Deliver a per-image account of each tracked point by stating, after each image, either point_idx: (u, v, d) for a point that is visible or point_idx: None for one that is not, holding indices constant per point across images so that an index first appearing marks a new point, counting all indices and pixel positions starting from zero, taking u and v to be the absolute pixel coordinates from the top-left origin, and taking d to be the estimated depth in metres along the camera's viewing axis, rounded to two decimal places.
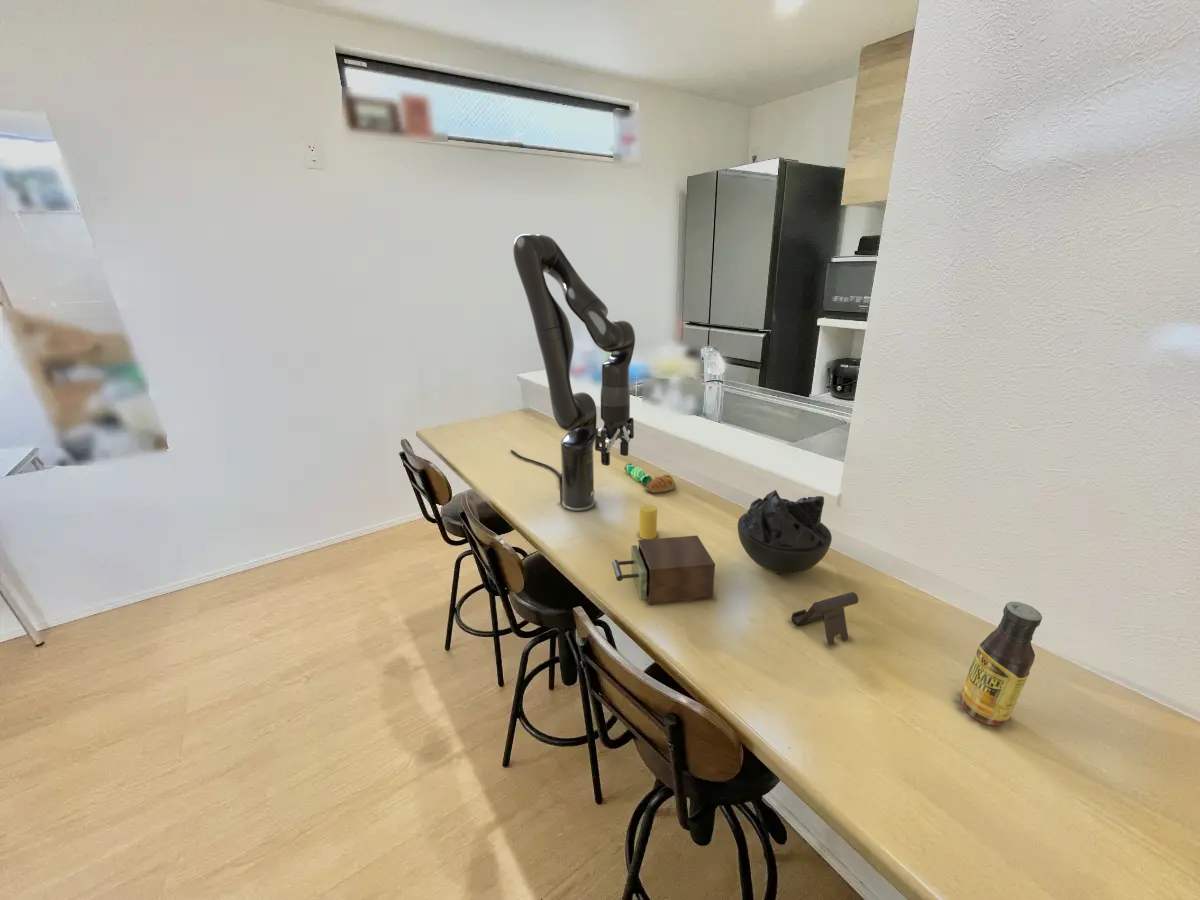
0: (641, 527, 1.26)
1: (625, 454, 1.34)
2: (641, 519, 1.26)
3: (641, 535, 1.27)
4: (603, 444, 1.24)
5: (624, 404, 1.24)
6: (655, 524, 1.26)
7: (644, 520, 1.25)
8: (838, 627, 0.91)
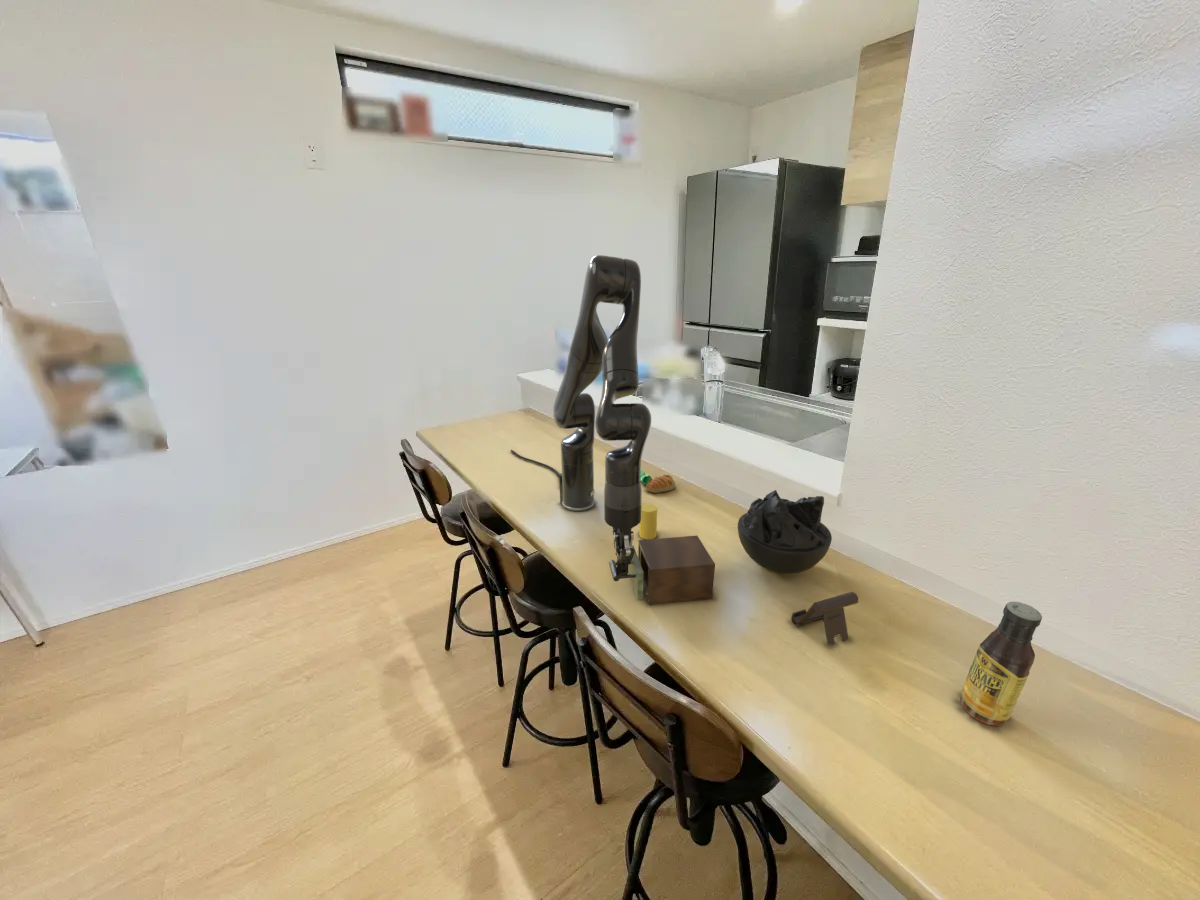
0: (641, 527, 1.26)
1: None
2: (641, 519, 1.26)
3: (641, 535, 1.27)
4: (631, 557, 1.00)
5: None
6: (655, 524, 1.26)
7: (644, 520, 1.25)
8: (838, 627, 0.91)
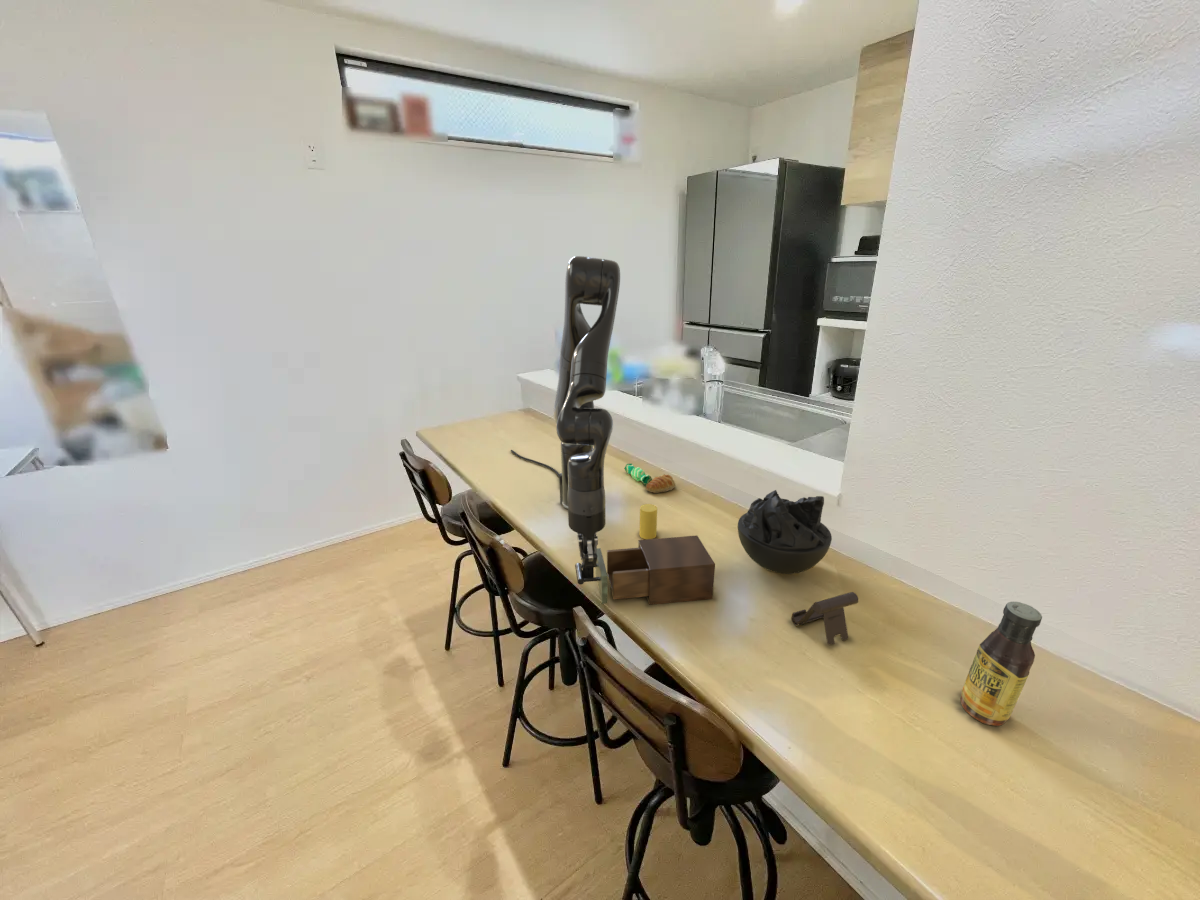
0: (641, 527, 1.26)
1: None
2: (641, 519, 1.26)
3: (641, 535, 1.27)
4: (595, 563, 0.99)
5: (604, 506, 0.98)
6: (655, 524, 1.26)
7: (644, 520, 1.25)
8: (838, 627, 0.91)
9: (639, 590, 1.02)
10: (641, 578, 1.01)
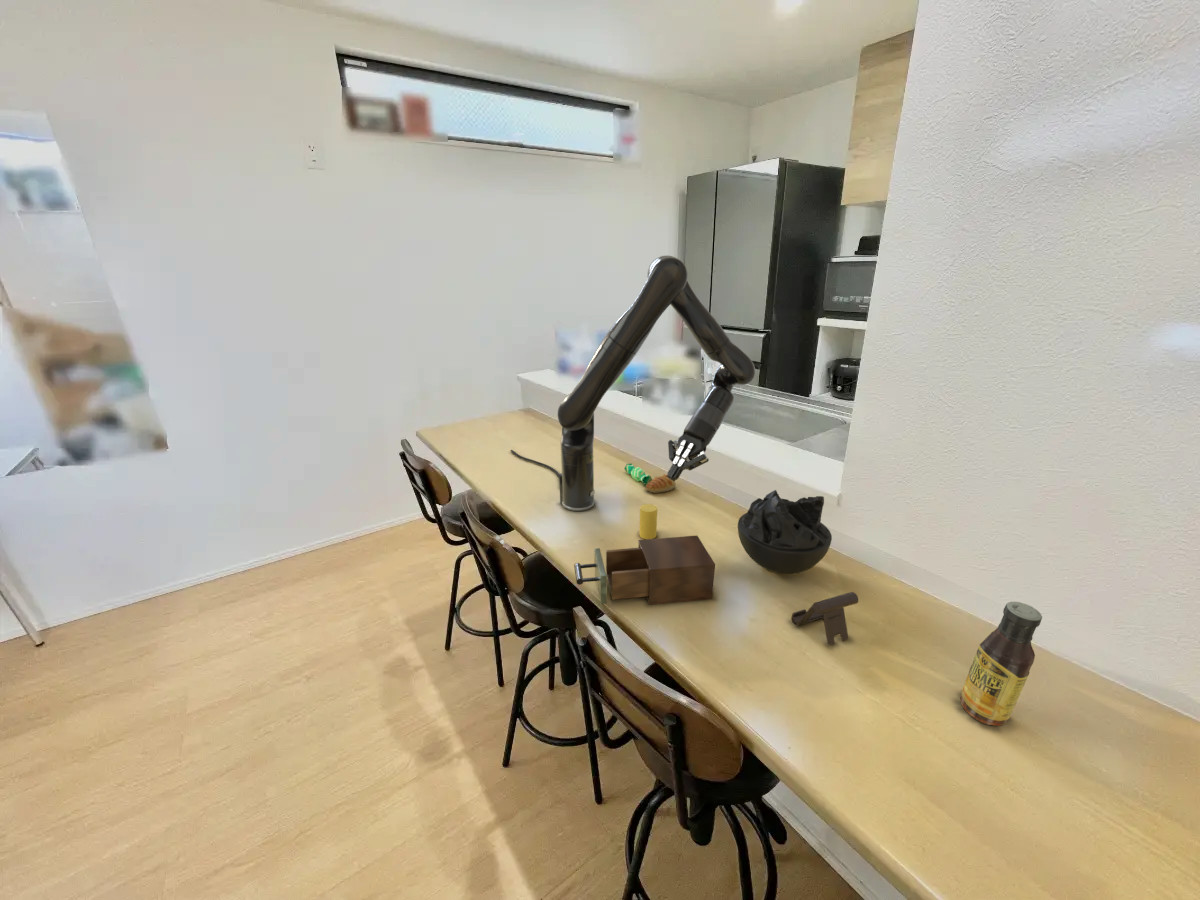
0: (641, 527, 1.26)
1: None
2: (641, 519, 1.26)
3: (641, 535, 1.27)
4: None
5: None
6: (655, 524, 1.26)
7: (644, 520, 1.25)
8: (838, 627, 0.91)
9: (638, 590, 1.02)
10: (640, 578, 1.01)
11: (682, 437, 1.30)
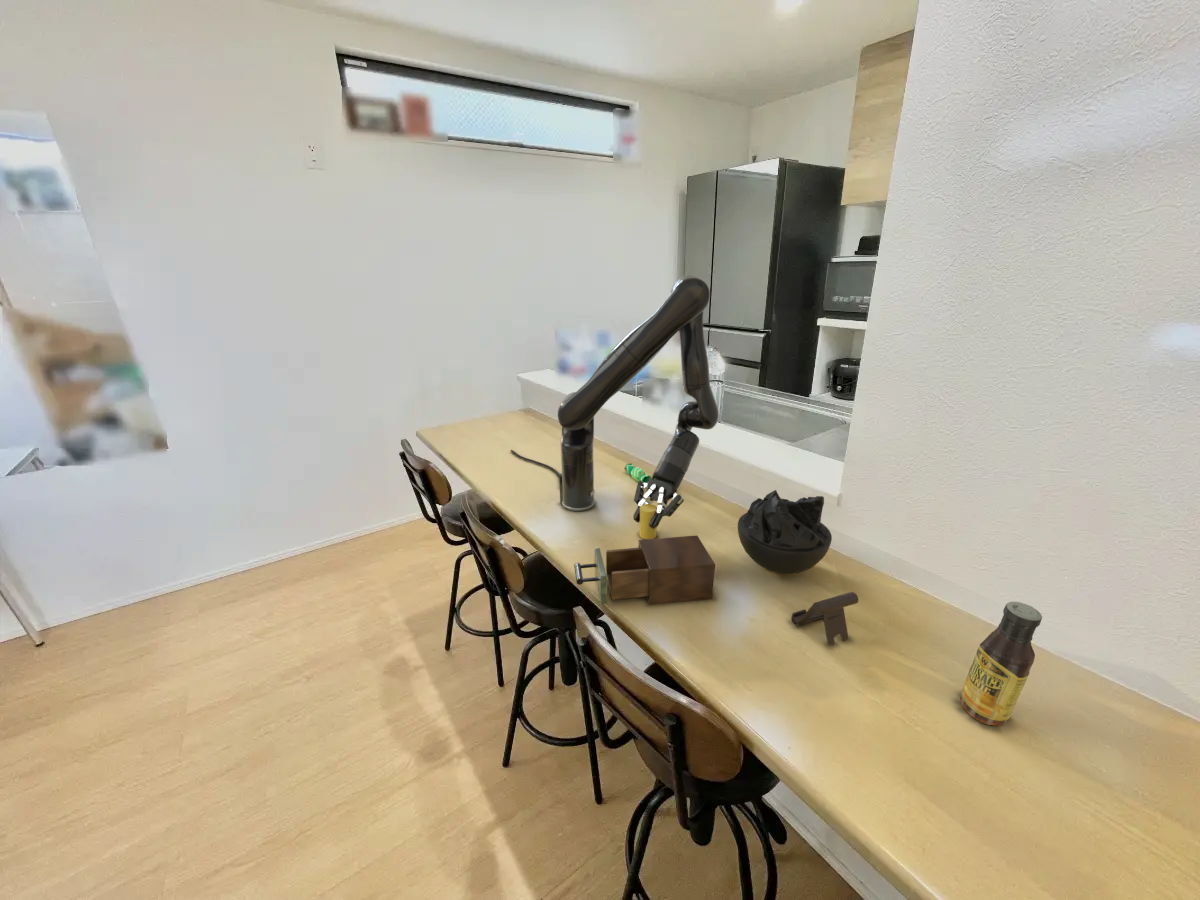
0: (641, 527, 1.26)
1: (638, 520, 1.28)
2: (641, 519, 1.26)
3: (641, 535, 1.27)
4: None
5: None
6: None
7: (644, 520, 1.25)
8: (838, 627, 0.91)
9: (638, 590, 1.02)
10: (640, 578, 1.01)
11: (652, 482, 1.29)
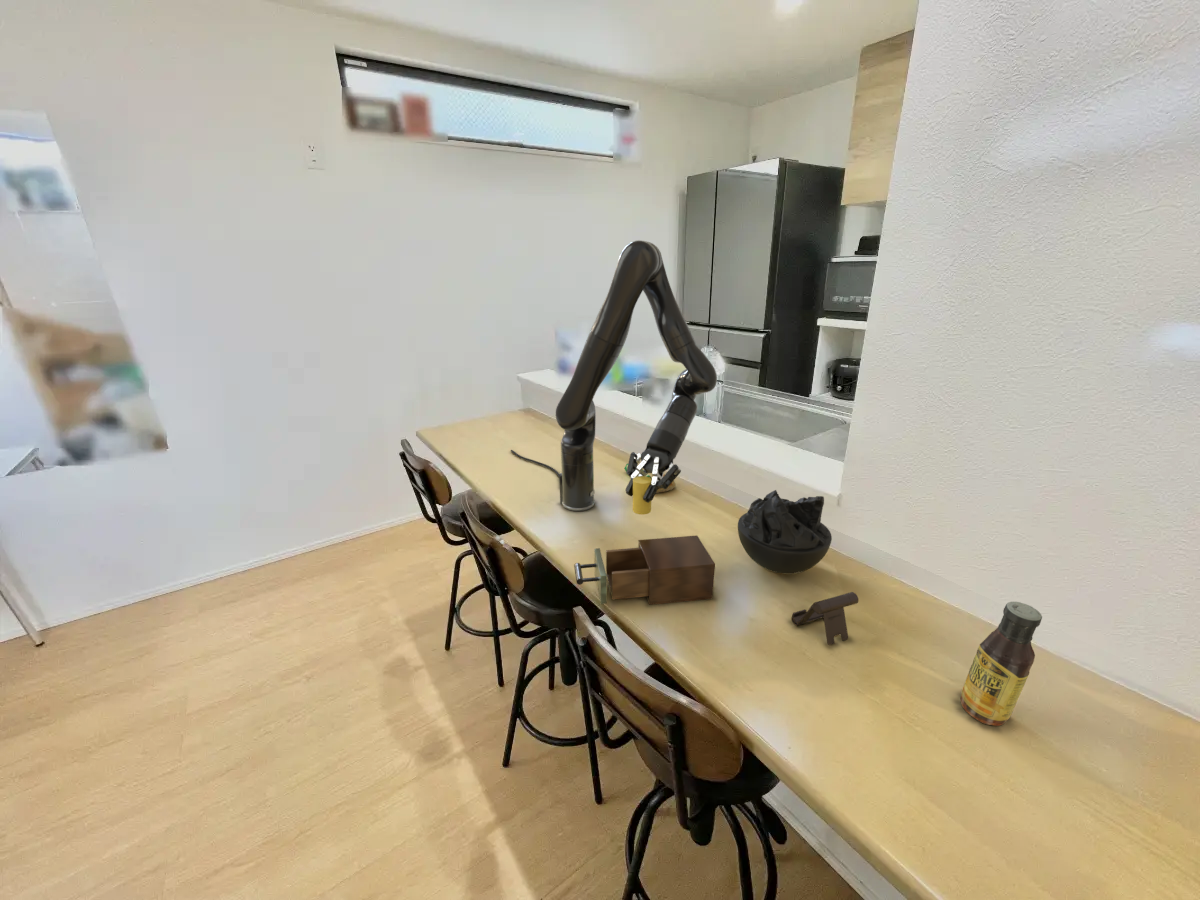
0: (634, 501, 1.15)
1: (631, 494, 1.16)
2: (634, 492, 1.14)
3: (634, 510, 1.16)
4: None
5: None
6: None
7: (637, 493, 1.14)
8: (838, 627, 0.91)
9: (638, 590, 1.02)
10: (640, 578, 1.01)
11: (646, 452, 1.18)
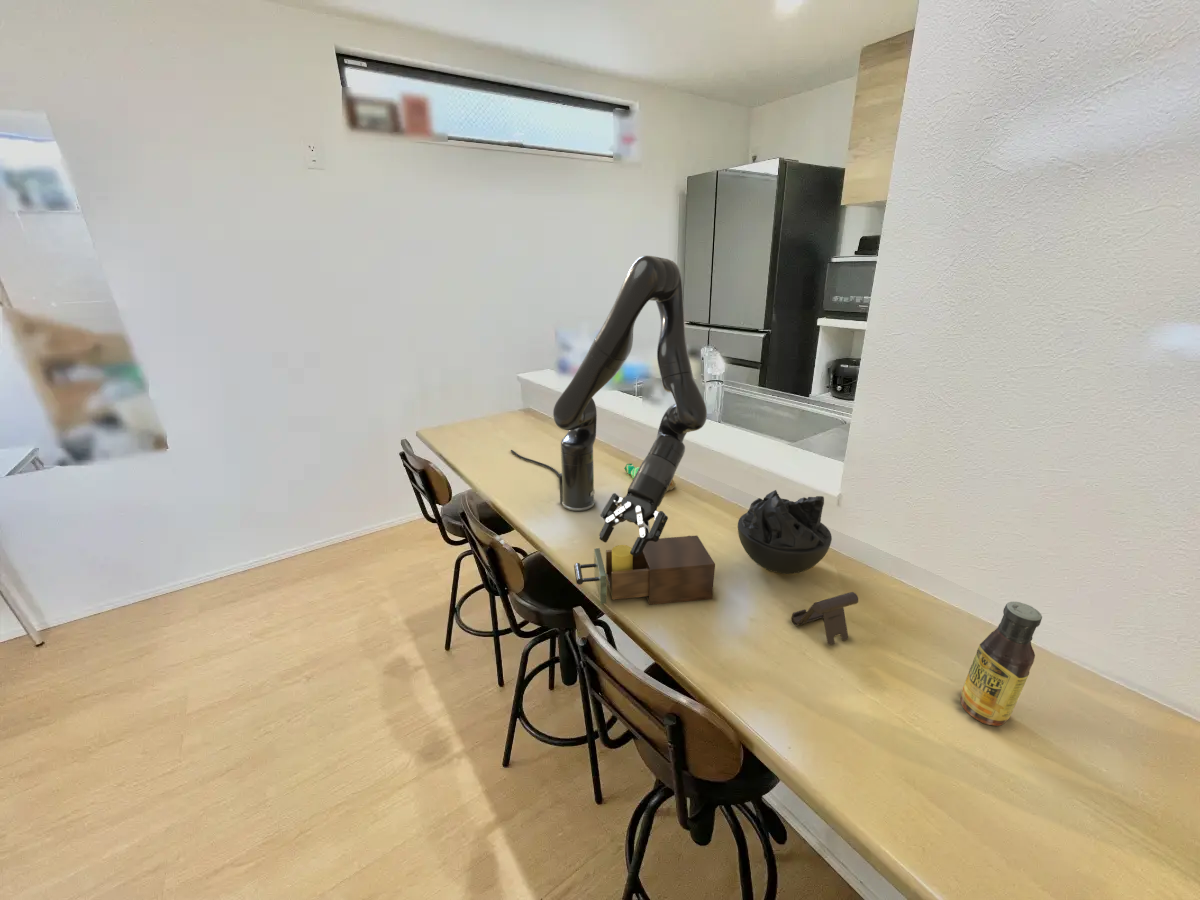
0: None
1: (606, 540, 1.05)
2: (613, 564, 1.03)
3: None
4: None
5: None
6: None
7: (616, 566, 1.02)
8: (838, 627, 0.91)
9: (638, 590, 1.02)
10: (640, 578, 1.01)
11: (627, 500, 1.05)
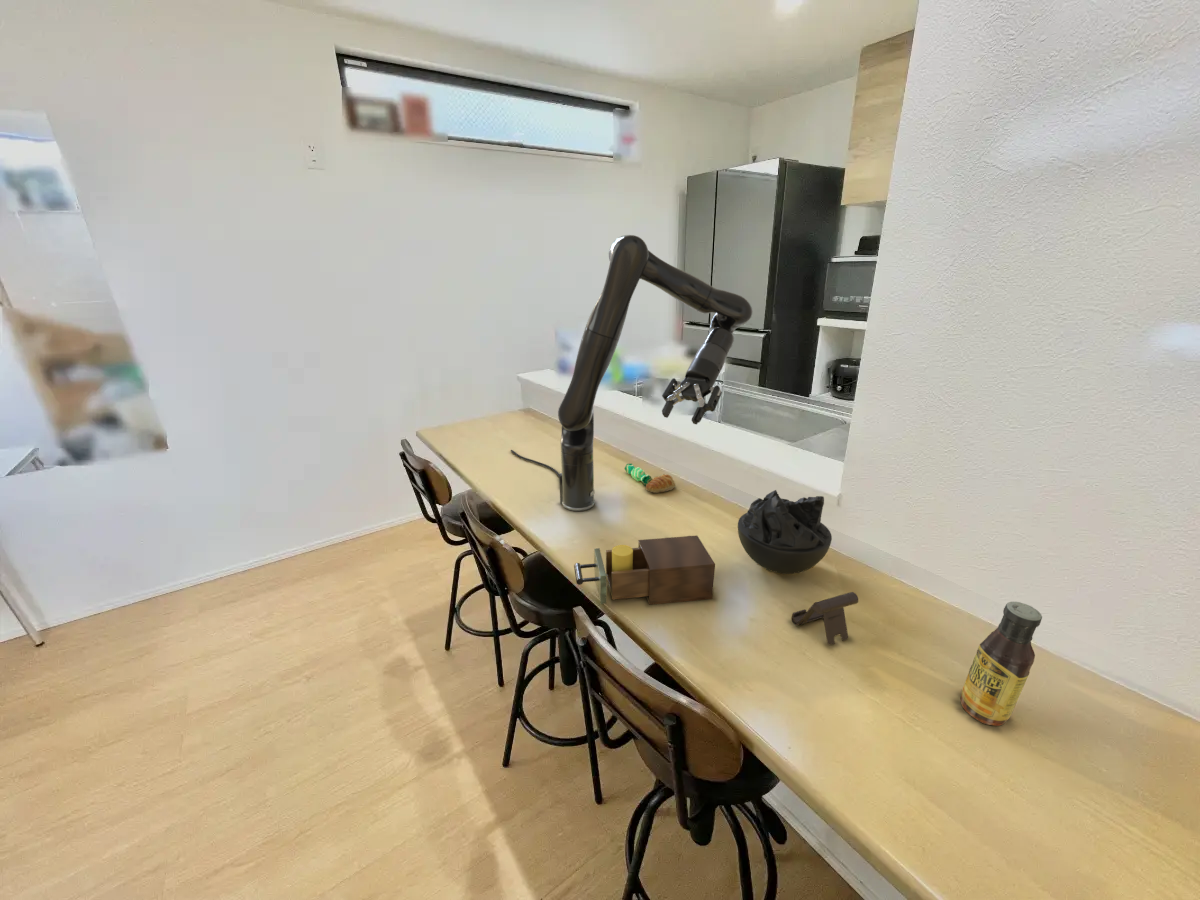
0: None
1: (667, 415, 1.24)
2: (613, 564, 1.03)
3: None
4: None
5: None
6: None
7: (616, 566, 1.02)
8: (838, 627, 0.91)
9: (638, 590, 1.02)
10: (640, 578, 1.01)
11: (685, 382, 1.24)
